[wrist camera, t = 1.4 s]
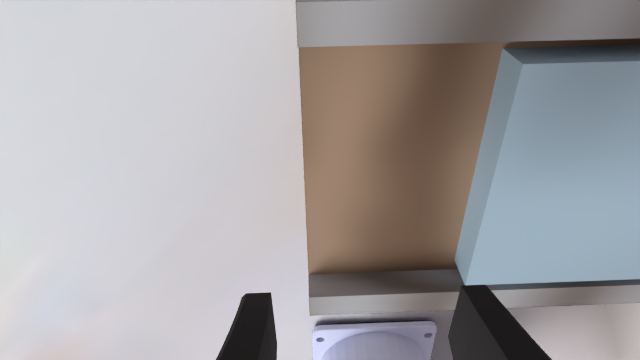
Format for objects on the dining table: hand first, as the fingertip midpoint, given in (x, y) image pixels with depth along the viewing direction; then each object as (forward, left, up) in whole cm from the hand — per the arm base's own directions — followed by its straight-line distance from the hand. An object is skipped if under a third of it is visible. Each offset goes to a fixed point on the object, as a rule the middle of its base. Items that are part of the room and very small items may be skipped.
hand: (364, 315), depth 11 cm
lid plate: (0, -10, -6) cm, 12 cm away
